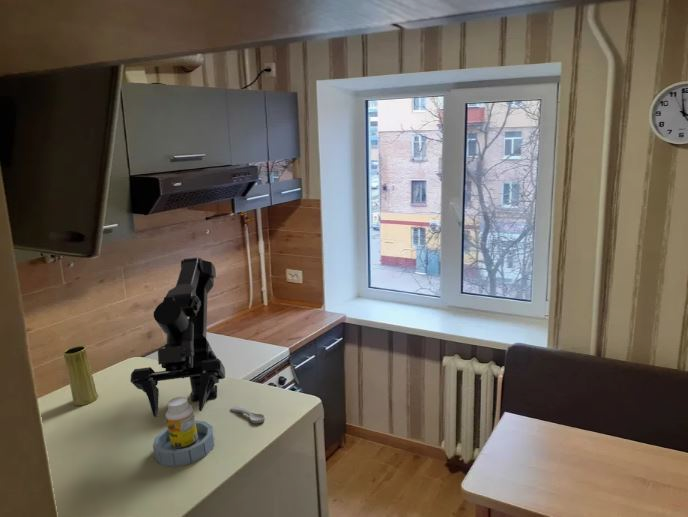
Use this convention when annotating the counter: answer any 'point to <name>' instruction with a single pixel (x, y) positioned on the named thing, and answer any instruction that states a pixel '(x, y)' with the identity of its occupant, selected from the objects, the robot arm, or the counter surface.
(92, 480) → the counter surface
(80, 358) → the vase
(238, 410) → the spoon
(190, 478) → the counter surface
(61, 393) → the counter surface
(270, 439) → the counter surface
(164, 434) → the bowl
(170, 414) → the supplement bottle
